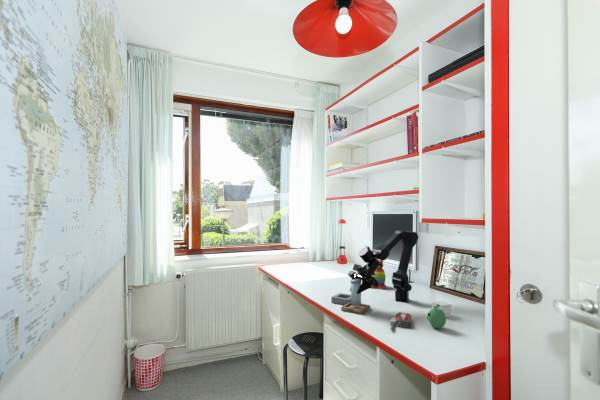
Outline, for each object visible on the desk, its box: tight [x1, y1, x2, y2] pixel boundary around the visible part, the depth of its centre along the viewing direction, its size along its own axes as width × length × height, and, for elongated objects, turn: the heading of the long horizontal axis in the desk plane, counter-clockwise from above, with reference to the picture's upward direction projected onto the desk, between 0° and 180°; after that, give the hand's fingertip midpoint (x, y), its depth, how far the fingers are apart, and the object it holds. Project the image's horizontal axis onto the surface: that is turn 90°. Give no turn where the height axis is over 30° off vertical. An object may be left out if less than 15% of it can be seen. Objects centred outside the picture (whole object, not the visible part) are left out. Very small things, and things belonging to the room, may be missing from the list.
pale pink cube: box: [431, 300, 452, 318], centre depth 155 cm, size 6×6×6 cm
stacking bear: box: [371, 259, 387, 290], centre depth 211 cm, size 11×10×18 cm
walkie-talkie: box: [390, 312, 412, 332], centre depth 142 cm, size 9×4×20 cm
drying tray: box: [340, 302, 371, 315], centre depth 163 cm, size 11×11×2 cm
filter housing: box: [331, 292, 351, 306], centre depth 177 cm, size 10×10×3 cm
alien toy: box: [426, 304, 447, 330], centre depth 139 cm, size 7×8×10 cm
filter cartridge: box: [350, 279, 362, 306], centre depth 164 cm, size 5×5×12 cm
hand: (353, 292), depth 163 cm, fingers closed on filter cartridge, 5 cm apart
